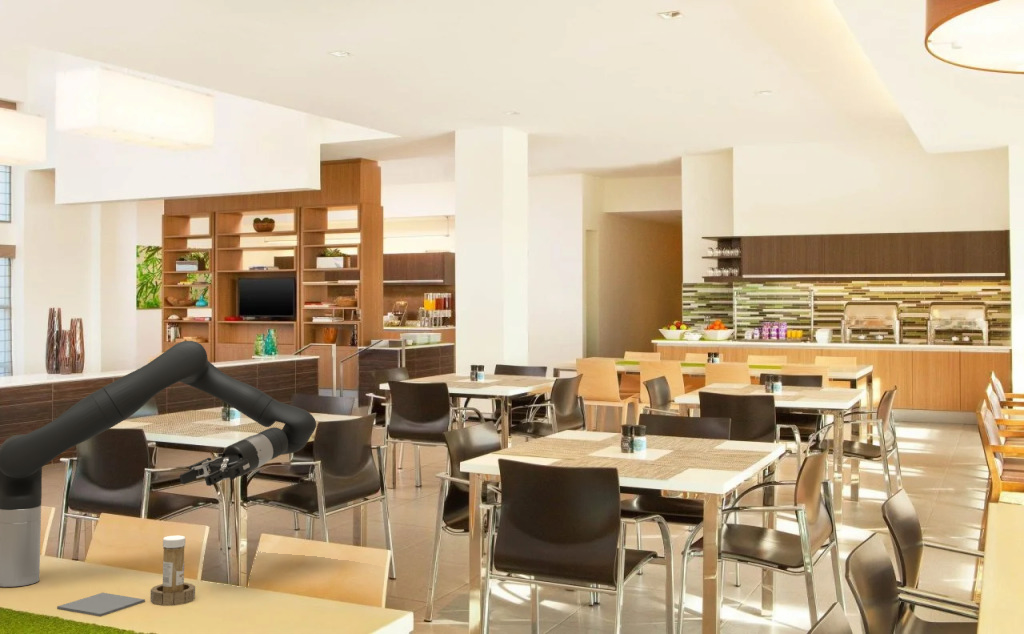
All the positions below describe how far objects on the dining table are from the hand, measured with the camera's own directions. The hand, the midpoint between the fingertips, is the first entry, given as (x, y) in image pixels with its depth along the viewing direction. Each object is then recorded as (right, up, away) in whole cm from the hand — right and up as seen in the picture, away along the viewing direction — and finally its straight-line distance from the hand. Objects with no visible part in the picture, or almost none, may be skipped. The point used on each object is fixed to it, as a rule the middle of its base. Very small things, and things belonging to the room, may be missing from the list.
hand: (193, 480), depth 213 cm
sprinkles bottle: (-3, -25, -4) cm, 26 cm away
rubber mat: (-16, -25, -10) cm, 31 cm away
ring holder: (-3, -25, -4) cm, 25 cm away
